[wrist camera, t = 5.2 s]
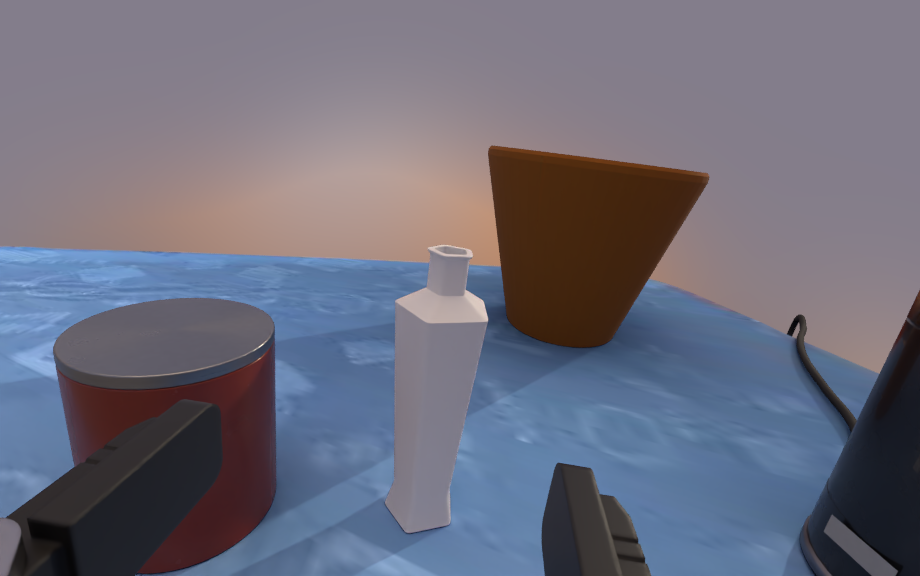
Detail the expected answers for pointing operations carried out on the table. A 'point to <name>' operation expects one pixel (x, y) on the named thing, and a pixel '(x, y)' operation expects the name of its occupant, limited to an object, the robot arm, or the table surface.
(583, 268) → the flower pot
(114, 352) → the tin can
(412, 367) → the perfume bottle
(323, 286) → the table surface
